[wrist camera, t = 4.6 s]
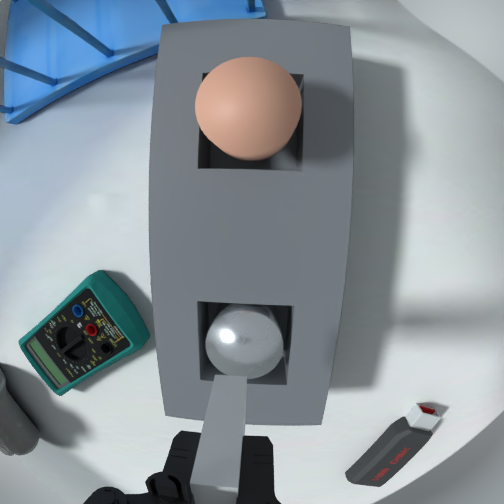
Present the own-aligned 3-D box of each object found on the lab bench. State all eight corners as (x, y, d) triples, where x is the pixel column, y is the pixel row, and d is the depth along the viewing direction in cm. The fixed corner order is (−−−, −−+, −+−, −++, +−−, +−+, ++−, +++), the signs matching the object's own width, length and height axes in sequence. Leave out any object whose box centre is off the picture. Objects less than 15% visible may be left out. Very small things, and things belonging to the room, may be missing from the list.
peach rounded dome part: (211, 82, 17) (198, 58, 13) (294, 83, 17) (301, 59, 13) (207, 160, 18) (192, 154, 14) (293, 163, 18) (300, 156, 14)
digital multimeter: (158, 331, 26) (147, 347, 23) (68, 387, 28) (55, 401, 25) (108, 262, 25) (91, 271, 22) (28, 334, 27) (12, 344, 24)
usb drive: (344, 471, 29) (348, 487, 26) (409, 399, 26) (418, 415, 24) (376, 475, 29) (381, 491, 26) (439, 408, 27) (449, 423, 24)
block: (180, 51, 21) (162, 24, 16) (334, 54, 20) (349, 26, 15) (179, 381, 26) (165, 415, 21) (313, 388, 26) (321, 424, 21)
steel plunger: (214, 289, 23) (204, 309, 19) (282, 292, 23) (285, 314, 19) (215, 348, 24) (206, 376, 20) (278, 352, 24) (280, 380, 20)
